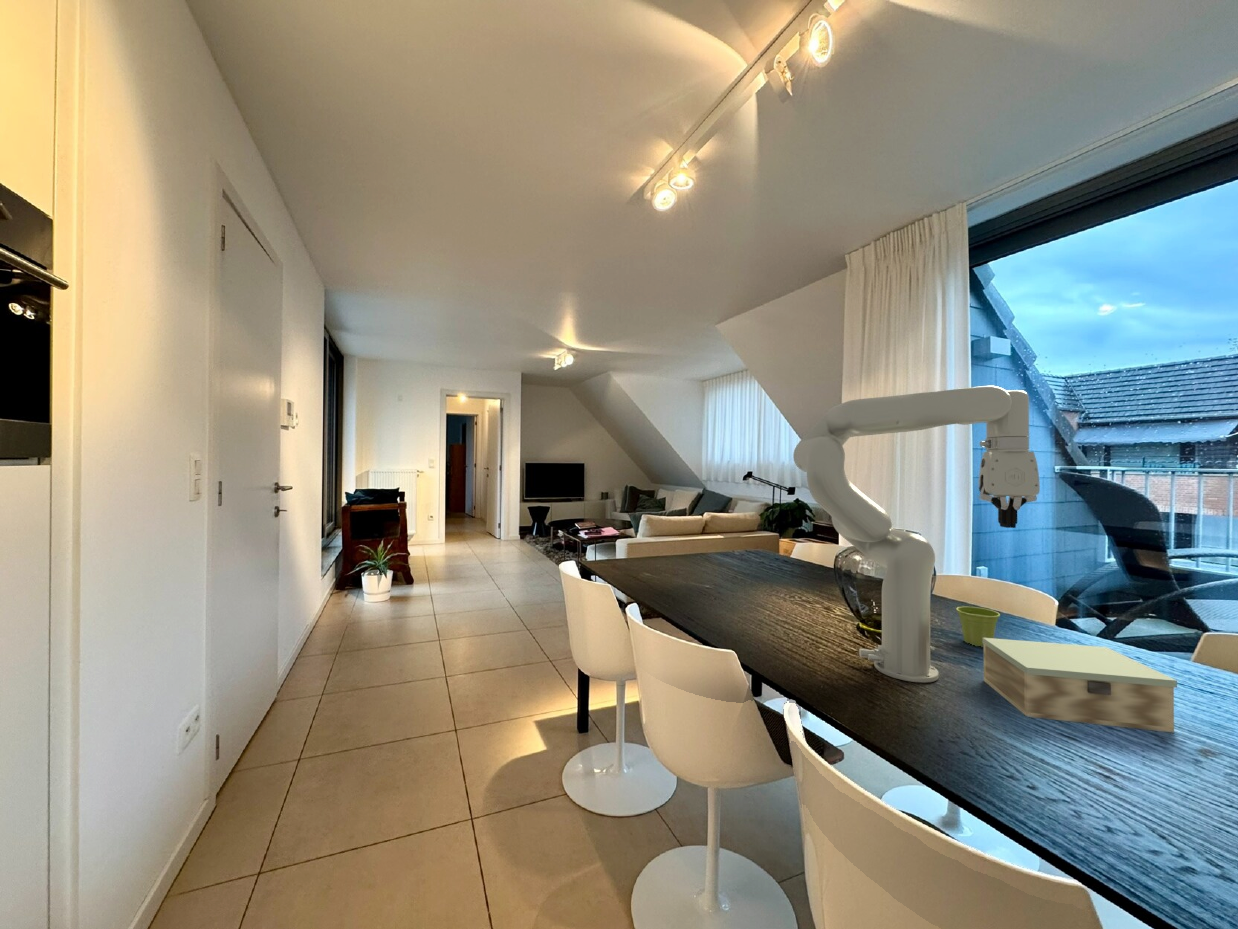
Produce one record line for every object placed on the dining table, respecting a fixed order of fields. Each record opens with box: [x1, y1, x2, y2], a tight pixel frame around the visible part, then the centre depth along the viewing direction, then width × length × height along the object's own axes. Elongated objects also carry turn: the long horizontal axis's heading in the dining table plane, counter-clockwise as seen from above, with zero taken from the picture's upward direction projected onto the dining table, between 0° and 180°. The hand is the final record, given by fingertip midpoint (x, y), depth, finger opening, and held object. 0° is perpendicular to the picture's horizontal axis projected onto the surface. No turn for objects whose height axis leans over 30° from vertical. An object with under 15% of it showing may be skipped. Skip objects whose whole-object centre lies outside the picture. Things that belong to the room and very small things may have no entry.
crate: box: [983, 644, 1175, 733], centre depth 95 cm, size 22×16×8 cm
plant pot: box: [955, 606, 1001, 648], centre depth 128 cm, size 9×9×9 cm
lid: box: [983, 637, 1178, 689], centre depth 95 cm, size 22×16×1 cm
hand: (1007, 527), depth 109 cm, fingers closed
